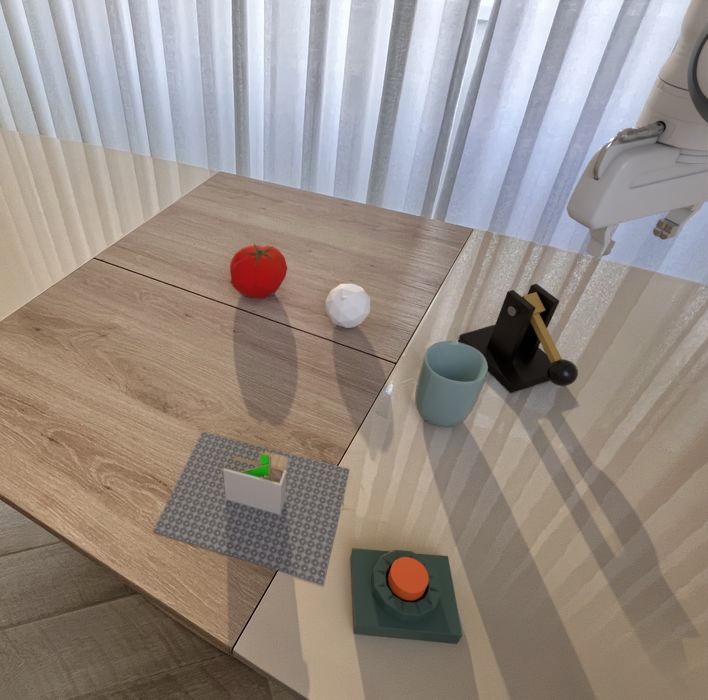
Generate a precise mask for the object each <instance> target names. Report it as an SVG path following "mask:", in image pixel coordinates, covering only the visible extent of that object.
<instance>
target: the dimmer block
mask: <svg viewBox="0 0 708 700" xmlns="http://www.w3.org/2000/svg"><path fill="white" fill-rule="evenodd" d="M403 557H409V558H413V559H415V560H417V561H419V562H420V563H421V564H422V565H423V566H424V567H425V569H426V570H427V573H428V577H429V581H428V585H427V587H426V589H425V592H424V594H423V595H422V596H421V597H420V598H419V599H417V600H413V601H408V600H404V599H401V598H399V597H398V596H396V595H395V594H394V593H393V591H392V590H391V588H390V586H389V583H388V576H389V572H390V569H391V566H392V564H393V563H394V562H395V561H396V560H397V559H399V558H403ZM349 563H350V585H351V608H352V609H351V610H352V611H351V612H352V629H353V630H352V631H353V635H359V636H370V637H381V638H392V639H401V640H402V639H403V640H411V641H412V640H413V641H421V642H422V641H423V642H431V643H433V642H434V643H442V644H443V643H444V644H455V645H458V643H459V642H460V640H461V638H462V637H463V631H462V625H461V620H460V615H459V614H460V613H459V610H458V604H457V598H456V592H455V588H454V582H453V576H452V570H451V565H450V559H449V556H448V555H444V554H443V555H442V554H441V555H440V554H431V553H429V554H428V553H416V552H415V551H412V550H402V549H393V550H380V549H367V548H355V547H352V548H351V552H350V558H349Z"/></svg>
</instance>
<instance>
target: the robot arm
mask: <svg viewBox="0 0 708 700" xmlns="http://www.w3.org/2000/svg"><path fill="white" fill-rule="evenodd" d="M645 100H646V101H645V102H644V105H643V107H642V109H641V112H640V114H639V116H638V118H637V121H636V123H635V127H627V128H623V129H622V130H619V131H618V132H617V133H616V135H615V136H614V137H612V138H611V139H610V140H609V141H608V142H605V143H604V144H603V145H602V146H601V147H600V148H598V149H597V151H596V152H595V153H594V154H593V155H592V157H591V158H590V160H589V162H588V163H587V165H586V166H585V168H584V170H583V171H582V174H581V176H580V178H579V179H578V181H577V182H576V185H575V187H574V189H573V191H572V193H571V195H570V197H569V200H568V202H567V205H566V211H567V215H568V217H569V218H570V219H572V220H573V221H575V222H576V223H578V224H580V225H581V226H584V227H585V228H587V229H589V234H590V239H589V241H588V243H587V246H586V250H585V251H586V253H587V254H589V255H590V256H592V257H593V258H596V259H597V258H601V257H605V256H608V255H610V254H611V252H612V249H614V246H615V244H616V241H614V240H613V239H611V235H612V233H611V232H614V231H616V230H617V229H618V226H619V225H620V224H622V223H626V222H630V221H634V220H638V219H643V218H646V217H650V216H654V215H659V214H662V213H667V214H666V215H665V217H663V218H660V219H658V221H657V222H656V224H655V227H653V229H652V234H653V236H655V237H657V238H659V239H660V240H662V241H663V240H669V239H673V238H676V237H677V236H678V235H679V233H680V231H681V229H682V228H683V226H684V225H685V224H686V223H687V222H689V220H691V218H693V217H694V216H695V215H696V214H697V213H698V212H699V211H700V210H701V209H702V207H703V205H704V204H705V203H707V202H708V0H690V2H689V5H688V7H687V9H686V12H685V14H684V15H683V18H682V21H681V26H680V33H679V37H678V40H677V43H676V45H675V48H674V49H673V51H672V53H671V54H670V55H669V57H668V58H667V60H666V61H665V62H664V64H663V65H662V66H661V68H660V69H659V70H658V74H657V76H656V78H655V79H654V82H653V85H652V88H651V89H650V92H649V94H648V96H647V98H646V99H645Z"/></svg>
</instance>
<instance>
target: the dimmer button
mask: <svg viewBox="0 0 708 700" xmlns="http://www.w3.org/2000/svg"><path fill="white" fill-rule="evenodd" d="M428 581H429V577H428V573H427V570H426V569H425V567H424V566H423V565H422V564H421V563H420V562H419V561H417V560H415V559H413V558H409V557H403V558H399V559H397V560H396V561H395V562H394V563H393V564H392V566H391V569H390V572H389V576H388V583H389V586H390V588H391V590H392V591H393V593H394V594H395V595H396V596H398V597H399V598H401V599H404V600H408V601H413V600H417V599H419V598H420V597H421V596H422V595H423V594H424V592H425V589H426V587H427V585H428Z"/></svg>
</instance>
